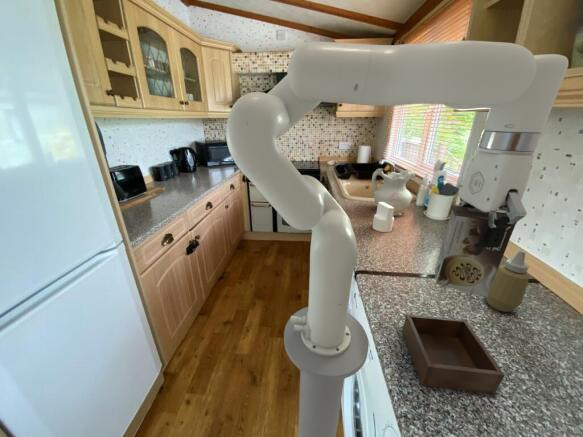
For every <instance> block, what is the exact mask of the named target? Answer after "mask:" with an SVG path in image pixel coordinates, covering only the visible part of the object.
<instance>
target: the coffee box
mask: <svg viewBox="0 0 583 437" xmlns="http://www.w3.org/2000/svg"><path fill="white" fill-rule="evenodd" d="M496 216H497V220H498V219H500V218H502V214H496ZM485 225H487V226H489V221H488V212H483V211H481V210H479V209H477V208H470V207H462V206H459V205H452V208H451V212H450V216H449V219H448V223H447V226H446V229H445V233H444V236H443V239H442V243H441V247H440V250H439V254H438V258H437V261H436V264H435V268H434V278H435V280H434V281H435V284H436V285H438V286H441V287H446V288H450V289H453V290H459V291H461V292H465V293H469V294H474V295H477V296H481V297H485V298H486V297H487V296H488V293H489V291H490V288H491V286H492V283H493V281H494V278H495V275H496V273H497V270H498V268H499V266H500V265H501V263H502V260H503V258H504V255H505V253H506V250H507V247H508V244H509V242H510V239H511V237H512V235H513V232H514V230H515V227H516V225H517V223H516V224H514V225H512V226H511V227H510V228H509V229H506V231H505V233H504V236H503V238H502V241H501V243H500V246H499V247H498V248H493V247H481V246H480V245H479V241H480V238H481V236H482V233H483V230H484V227H485Z"/></svg>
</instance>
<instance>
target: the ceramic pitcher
mask: <svg viewBox="0 0 583 437" xmlns="http://www.w3.org/2000/svg"><path fill="white" fill-rule="evenodd" d="M383 170H384V168H380V167H379V168H377V169H376V170H375V171H374V172H372V177H371V184H372V188H373V190H374V192H373V196H374V197H373V198H374V204H375V205H376V206H378V202H385V203H387V204H388V205H390V206H392V207H394V212H393V216H395V217H396V216H402V215H403V213H402V211H404V210H406V209H407V208H409V206H410V204H411V202H412V200H413V199H412V197H413V196H412V194H411V192H410V191H409V190H408V189H407V186H406V185H407V183H408V182H409V180H410V179H412V178H415V177H416V173H415V172H414V171H411V170H408V169H404V170H403V169H402V170H401V171H400V172H396V171H391V172H390V173H388V174H386V173H384V171H383ZM377 176H381V177H382V179H383V184H382V186H381V187H379V188H378V184H377V181H376V180H377Z"/></svg>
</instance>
